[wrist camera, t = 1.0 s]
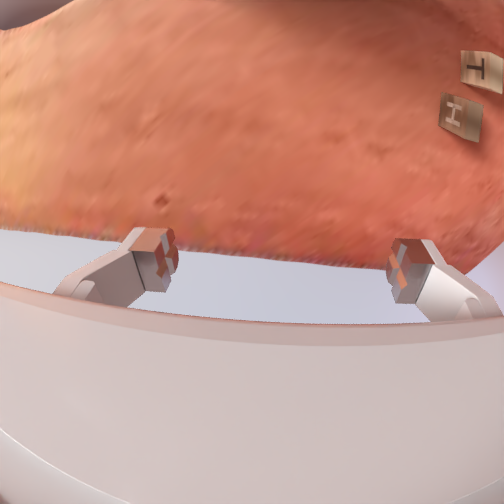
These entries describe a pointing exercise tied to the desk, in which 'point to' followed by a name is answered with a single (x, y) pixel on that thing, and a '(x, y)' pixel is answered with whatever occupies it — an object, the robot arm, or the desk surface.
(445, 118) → the wooden letter h block
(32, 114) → the desk surface
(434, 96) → the desk surface
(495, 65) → the wooden letter t block
